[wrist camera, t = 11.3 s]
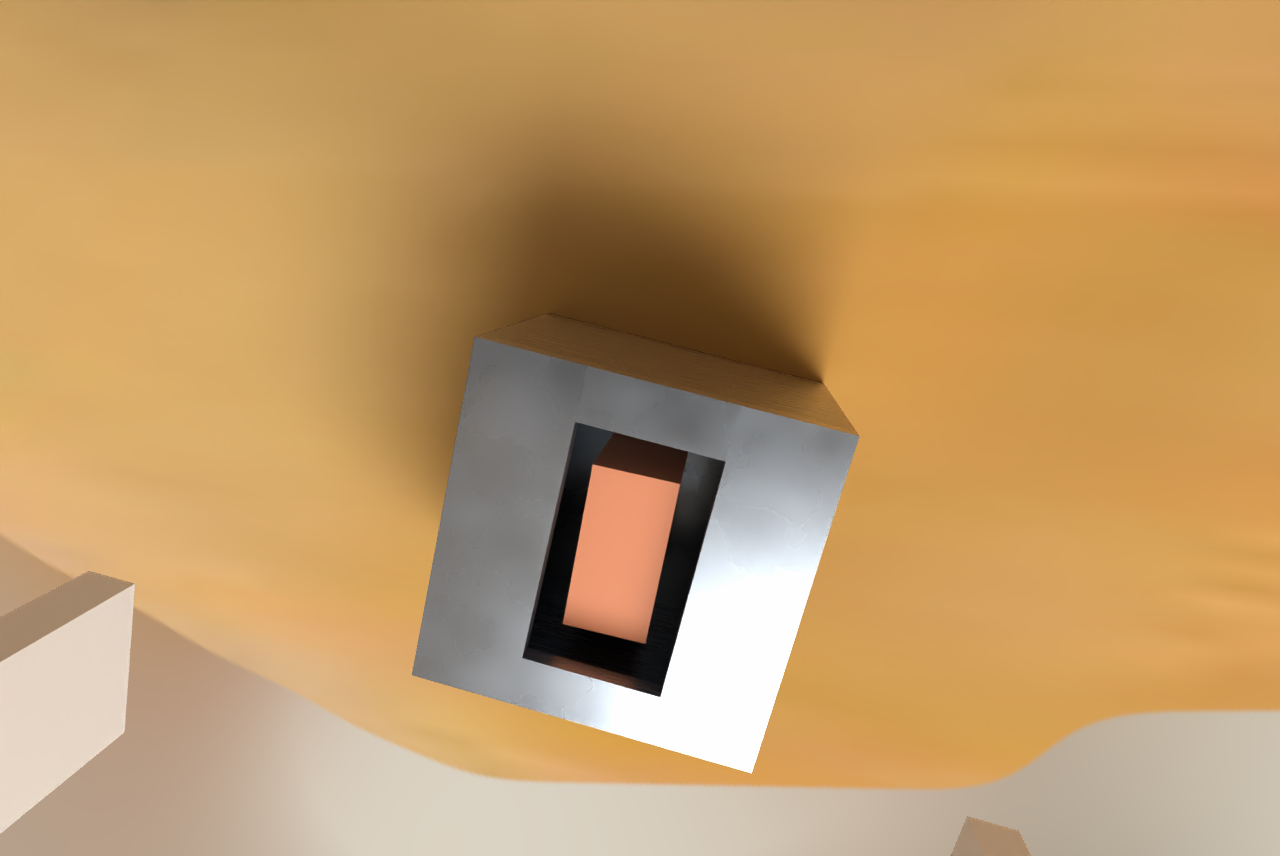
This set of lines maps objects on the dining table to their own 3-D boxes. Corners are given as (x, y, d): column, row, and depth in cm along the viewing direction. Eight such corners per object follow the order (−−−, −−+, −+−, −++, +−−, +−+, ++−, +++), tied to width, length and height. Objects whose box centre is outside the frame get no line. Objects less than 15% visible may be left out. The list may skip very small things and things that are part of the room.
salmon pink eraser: (597, 548, 29) (563, 623, 23) (623, 419, 27) (592, 464, 22) (663, 563, 28) (645, 643, 23) (691, 435, 27) (680, 483, 21)
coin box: (495, 565, 30) (411, 675, 22) (548, 313, 28) (474, 336, 20) (747, 635, 29) (751, 773, 22) (823, 383, 27) (859, 436, 19)
